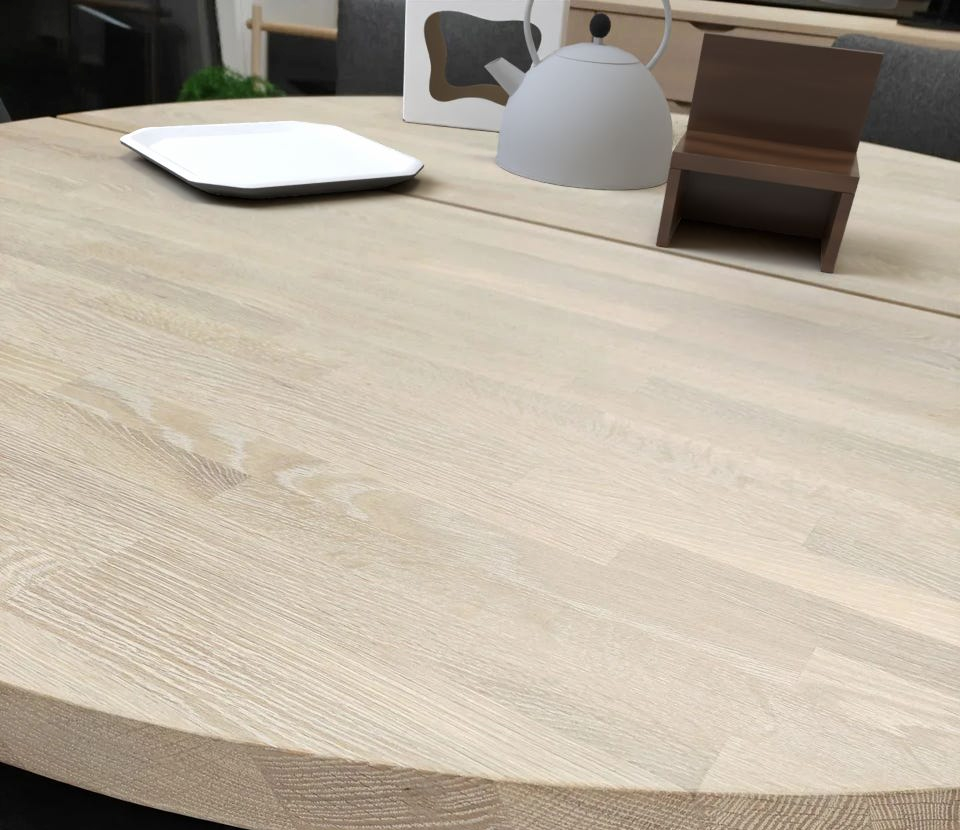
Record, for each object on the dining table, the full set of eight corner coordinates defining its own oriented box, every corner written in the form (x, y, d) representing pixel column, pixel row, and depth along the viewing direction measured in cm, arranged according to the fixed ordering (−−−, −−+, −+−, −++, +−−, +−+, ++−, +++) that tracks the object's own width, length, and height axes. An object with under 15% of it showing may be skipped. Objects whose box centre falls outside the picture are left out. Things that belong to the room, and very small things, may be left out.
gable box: (400, 121, 145) (406, -120, 128) (417, 106, 155) (424, -118, 138) (552, 138, 144) (578, -103, 127) (558, 122, 154) (583, -103, 137)
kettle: (481, 180, 120) (497, -46, 106) (475, 141, 138) (488, -57, 124) (684, 195, 122) (725, -25, 108) (652, 154, 140) (684, -39, 126)
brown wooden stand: (671, 214, 114) (705, 31, 103) (831, 238, 111) (883, 52, 100) (655, 245, 103) (691, 45, 92) (832, 273, 100) (890, 69, 89)
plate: (209, 212, 100) (207, 188, 99) (107, 149, 118) (104, 128, 117) (445, 190, 115) (446, 169, 114) (322, 137, 133) (322, 118, 131)
